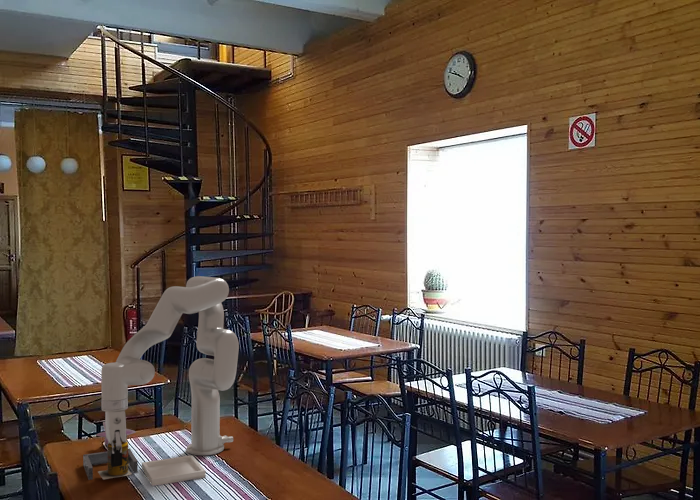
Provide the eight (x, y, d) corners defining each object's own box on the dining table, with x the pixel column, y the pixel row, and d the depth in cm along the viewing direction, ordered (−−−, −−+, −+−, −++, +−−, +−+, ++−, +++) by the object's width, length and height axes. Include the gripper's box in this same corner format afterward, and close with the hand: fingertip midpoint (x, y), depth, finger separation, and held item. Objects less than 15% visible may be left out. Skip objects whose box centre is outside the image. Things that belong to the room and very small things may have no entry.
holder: (129, 458, 222) (129, 448, 222) (137, 472, 210) (137, 461, 210) (83, 465, 215) (83, 454, 215) (88, 479, 203) (88, 468, 203)
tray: (192, 461, 220) (192, 455, 220) (205, 477, 206) (205, 470, 206) (142, 468, 213) (142, 462, 213) (152, 486, 199) (152, 479, 199)
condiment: (132, 474, 204) (132, 435, 204) (103, 480, 199) (103, 440, 199) (125, 467, 210) (125, 429, 210) (97, 472, 205) (97, 433, 205)
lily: (140, 449, 235) (138, 422, 239) (120, 445, 224) (119, 417, 229) (110, 457, 237) (109, 430, 241) (89, 454, 227) (88, 425, 231)
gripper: (132, 409, 198) (132, 469, 199) (122, 396, 213) (123, 452, 214) (105, 412, 195) (105, 473, 195) (97, 398, 210) (98, 455, 210)
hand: (114, 461), depth 205 cm, fingers closed on condiment, 6 cm apart
